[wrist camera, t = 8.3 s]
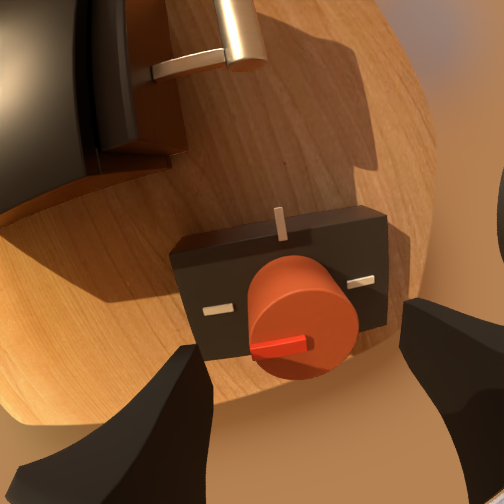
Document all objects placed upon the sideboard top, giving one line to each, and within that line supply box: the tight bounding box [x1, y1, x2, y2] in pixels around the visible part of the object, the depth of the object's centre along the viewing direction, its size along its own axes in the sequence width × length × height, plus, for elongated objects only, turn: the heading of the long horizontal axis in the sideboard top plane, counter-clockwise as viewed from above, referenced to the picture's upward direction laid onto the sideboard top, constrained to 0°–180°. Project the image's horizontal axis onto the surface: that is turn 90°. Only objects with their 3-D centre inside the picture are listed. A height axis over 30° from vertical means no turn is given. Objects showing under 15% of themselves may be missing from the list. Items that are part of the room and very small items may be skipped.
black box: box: [0, 0, 172, 229], centre depth 8 cm, size 16×13×9 cm
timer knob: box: [248, 255, 359, 380], centre depth 11 cm, size 4×4×4 cm
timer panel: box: [169, 205, 389, 361], centre depth 14 cm, size 10×8×3 cm
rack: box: [87, 0, 268, 156], centre depth 8 cm, size 18×11×7 cm, turn 100°
